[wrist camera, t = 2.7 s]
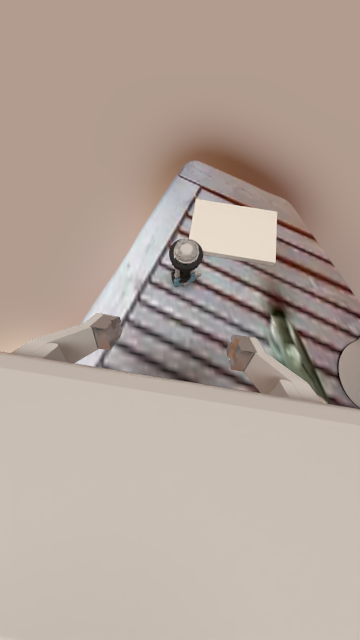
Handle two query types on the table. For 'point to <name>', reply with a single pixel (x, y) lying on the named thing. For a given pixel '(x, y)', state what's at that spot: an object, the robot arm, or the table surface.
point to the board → (235, 232)
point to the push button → (185, 261)
